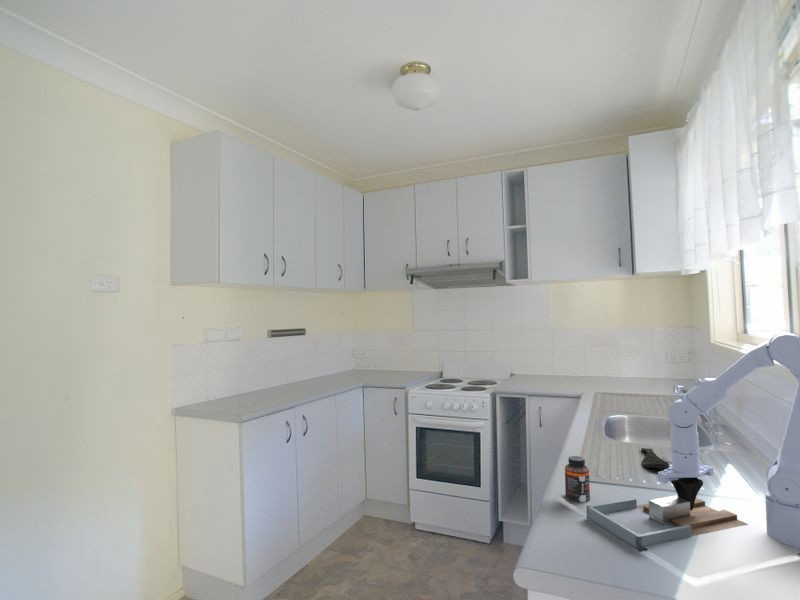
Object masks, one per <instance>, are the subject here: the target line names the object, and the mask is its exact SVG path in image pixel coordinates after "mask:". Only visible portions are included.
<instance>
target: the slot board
mask: <svg viewBox="0 0 800 600" xmlns="http://www.w3.org/2000/svg"><path fill="white" fill-rule="evenodd" d="M637 508H638V509H640V510H642V511H644V512H645V513H648V514H649V503H644V504H637ZM669 525H671V526H674V528H675V527H680V526H685V525H689V526H691V530H692V536H699V535H703V534H707V533H714V532H718V531H723V530H728V529H732V528H737V527H742V526H747V525H749V524H748V523H747V522H744V521H742V520H739V519H738V514H735V513H734V512H731V511H729V510H726V509H722V510H716V509H715V508H712V507H709V506H707V505H706V501H705V500H702V499H701V498H697V497H696V499H695V503H694V506H693V510H691V511H690V516H689V517H684V518H679V519H674V520H671V523H670V524H669Z"/></svg>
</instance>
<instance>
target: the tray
mask: <svg viewBox="0 0 800 600" xmlns="http://www.w3.org/2000/svg"><path fill="white" fill-rule="evenodd" d="M637 503H638V501H637V499H636V498H635V497H632V498H627V499H620V500H614V501H609V502H603V503H597V504H596V503H595V504H591V505H586V519H587V520H588V519H589V520H588V521H590V522H591V521H592V523H593V524H594V525H596V526H598V527H600V528H601V529H602V530H603V531H606V532H607V533H609V534H611V535H612V536H613V537H615V538H617V539H618V540H619V541H621V542H623V543H625V544H626V545H628V546H629V547H631V548H633V549H634V550H636V551H637V552H639V553H641V552H644V551H648V550H649V549H648V548H647V546H651V545H657V544H659V543H665V542H670V541H674V540H678V539H679V540H680V539H684V538H685V539H686V538H690V537H692V536H693V535H692V530H691V526H689V525H685V526H680V527H675V526H674V527H670V528H665V529H660V530H656V531H650V532H646V533H645V532H644V533H641V534H640V533H638V532H635V531H633V530H632V529H630V528H628V527H626V525H623V524H622V523H620V522H618V521H616V520H614V519H613V518H611V517H610V516H608V515H606V514H610V513H615V512H621V511H626V510H631V509H637V508H638V507H637V506H638V504H637Z"/></svg>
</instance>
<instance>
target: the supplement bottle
mask: <svg viewBox="0 0 800 600" xmlns="http://www.w3.org/2000/svg"><path fill="white" fill-rule="evenodd" d="M585 460H586V459H585V458H584V457H583V456H579V455H578V456H577V455H570V456H568V460H567V461H568V462H567V463H568V464H565V466H564V480H565V482H564V484H565V486H564V488H565V490H564V491H565V499H566V502H568V503H569V502H570V503H569V504H571V503H572V502H575V503H580V504H581V503H587V502H589V501H590V499H591V492H590V469H589V467H588V466H586V465H585V464H586V461H585Z"/></svg>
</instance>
